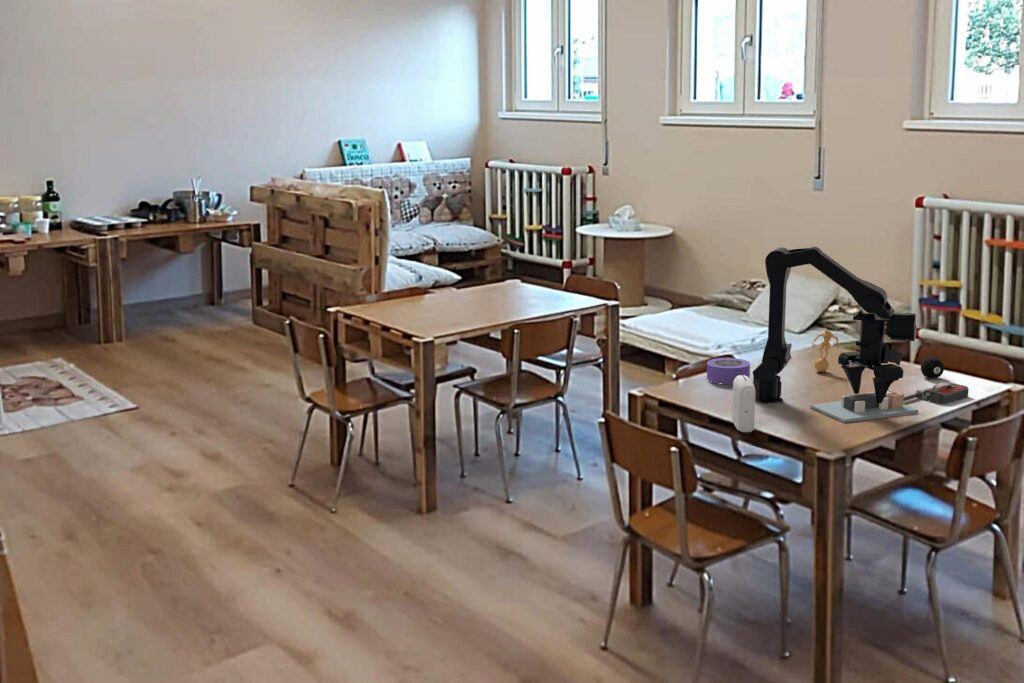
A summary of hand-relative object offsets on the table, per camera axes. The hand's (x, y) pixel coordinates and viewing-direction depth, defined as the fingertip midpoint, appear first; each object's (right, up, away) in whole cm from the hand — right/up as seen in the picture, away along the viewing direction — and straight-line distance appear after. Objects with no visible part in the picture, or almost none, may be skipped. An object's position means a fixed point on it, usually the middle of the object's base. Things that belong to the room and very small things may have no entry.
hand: (868, 398), depth 286 cm
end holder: (+6, -2, +3) cm, 7 cm away
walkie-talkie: (+21, -1, +10) cm, 23 cm away
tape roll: (-29, +3, +31) cm, 43 cm away
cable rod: (0, -2, +1) cm, 2 cm away
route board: (-1, -3, 0) cm, 3 cm away
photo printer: (-34, -6, -11) cm, 36 cm away
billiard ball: (+27, +4, +30) cm, 41 cm away
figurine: (-1, +6, +39) cm, 39 cm away
